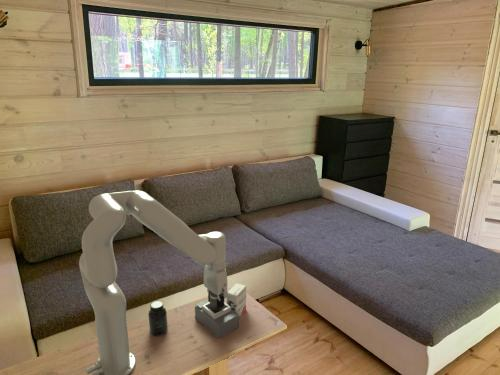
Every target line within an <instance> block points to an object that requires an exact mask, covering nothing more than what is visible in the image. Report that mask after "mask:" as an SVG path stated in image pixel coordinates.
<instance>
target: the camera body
mask: <svg viewBox="0 0 500 375" xmlns="http://www.w3.org/2000/svg"><path fill="white" fill-rule="evenodd" d="M194 318H195V319H196V320H197V321H198V322H200V323H201V324H202V325H203V326H204V327H205V328H206V329H207V330H208V331H210V333H211V334H213V335H214V336H215V337H216V338H217V339H222V338H223V337H224V336H226V335H228V334H229V333H232V332H233V331H235V330H236V329H239V328H240V317H239V314H238V313H236V312H235V311H234V310H232V309H231V307H230V306H229V305H228V304H227V302H225V301H224V306H223V309H222V310H221V311H219V312H213V311H211V310H210V302H209V301H208V298H207V299H205V300H203V301H201V302H198V303H196V304H195V305H194Z"/></svg>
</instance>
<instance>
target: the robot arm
mask: <svg viewBox="0 0 500 375" xmlns="http://www.w3.org/2000/svg"><path fill="white" fill-rule="evenodd" d="M88 213H89V215H90V216H91V218H93V220H91V222H90V223H89V224H88V225H87V227H86V228H85V229H84V232H83V233H82V237H81V249H82V253H81V255H80V257H79V261H78V262H79V263H78V266H79V270H80V275H81V278H82V283H83V287H84V291H85V294H86V297H87V298H88V300H89V302H90V303H89V304H91V306H92V308H93V312H94V318H95V319H94V321H95V322H94V325H95V332H96V339H97V340H96V341H97V346H98V347H97V348H98V354H99V357H97V358H96V359H97V362H95V363H94V364H93V365H91V366H89V367H87V368H85V373H86V374H87V375H89V374H92V375H129V374H132V373H131V372H132V371H133V370H134V369H135V366H136V357H135V355H134V354H133V353H131V352H130V344H129V333H128V324H127V300H126V296H125V294H124V293H123V290H122V289H121V288H120V287H119V285H118V283H116V279H117V277H118V265H117V262H116V258H115V253H114V245H113V240H114V238H115V235H116V234H117V233H118V232H119V231H120V230H121V229H122V228H123V227H124V226H125V223H126V220H127V216H130V215H132V216H133V218H135V219H136V220H137V221H138V222H139V223H141V224H142V225H144V226H146V228H148V229H149V230H151V231H153V232H154V233H155V234H157V236H159V237H160V238H162V239H163V240H165V241H166V242H167V243H168V244H170V245H172V246H174V247H175V248H176V249H178V250H179V251H180V252H182V253H184V254H185V255H186V256H188V258H190V259H192V260H193V261H195V262H196V263H198V264H199V265H201V266H204V269H203V286H204V287H205V288H206V289H207V290H206V292H207V299H208V301H209V302H210V291H211V292H213V293H214V294H215V295H217V297H218V300H217V309H220V308H221V307H223V306H224V302H225V299H227V297H229V294H228V288H229V287H228V275H227V274H228V273H227V268H226V267H227V263H226V259H227V258H226V257H227V256H226V251H227V250H226V246H227V245H226V241H227V239H226V234H224V233H223V232H221V231H211V232H208V233H205V234H204V233H203V234H197V233H196V232H195V231H194V230H193V229H192V228H190V227H189V226H188V225H187V224H186V223H185V222H184V221H183V220H182V219H181V218H179V216H177V215H175V214H174V213H173V212H172V211H170V210H169V209H168V208H166V207H165V206H164V204H162V203H161V202H159V201H158V200H156V199H155V198H154V197H153V196H151V195H149V193H147V192H146V191H143V190H126V191H117V192H107V193H101V194H97V195H96V196H94V197H93V198H92V199H91V200H90V202H89V204H88ZM220 294H222V296H221V297H220Z"/></svg>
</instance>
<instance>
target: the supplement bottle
mask: <svg viewBox="0 0 500 375" xmlns="http://www.w3.org/2000/svg"><path fill="white" fill-rule="evenodd" d="M149 306H150V309H149V310H148V324H149V325H148V326H149V332H150V334H151V335H153V336H157V337H158V336H159V337H160V336H162V335H164V334H165V333H167V332H168V328H169V327H168V315H167V309H166V308H165V307H164V302H163V301H160V300H154V301H152V302H151V304H150V305H149Z"/></svg>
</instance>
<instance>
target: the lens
mask: <svg viewBox="0 0 500 375" xmlns="http://www.w3.org/2000/svg"><path fill="white" fill-rule="evenodd" d="M221 296H222V294H220V297H221ZM217 300H218V297H217V295H215V294H214V293H213V292H211V291H210V310H211V311H213V312H219V311H221V310H222V309H223V307H221V308H220V309H217Z"/></svg>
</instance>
